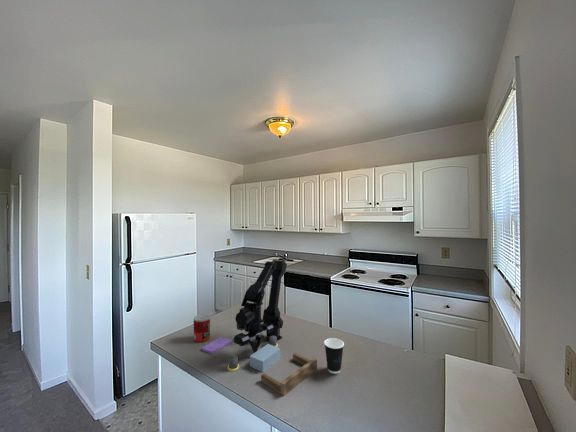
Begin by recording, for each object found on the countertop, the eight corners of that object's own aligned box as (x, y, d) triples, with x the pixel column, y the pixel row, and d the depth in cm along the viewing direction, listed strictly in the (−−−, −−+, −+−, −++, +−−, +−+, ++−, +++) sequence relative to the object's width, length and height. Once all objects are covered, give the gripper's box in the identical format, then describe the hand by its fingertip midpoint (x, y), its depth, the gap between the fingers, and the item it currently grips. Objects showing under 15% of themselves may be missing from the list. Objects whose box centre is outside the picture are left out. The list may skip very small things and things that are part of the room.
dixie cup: (339, 378, 96) (339, 349, 96) (320, 371, 101) (320, 344, 101) (347, 368, 103) (347, 341, 103) (329, 362, 107) (329, 336, 107)
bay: (295, 358, 110) (295, 349, 110) (317, 369, 102) (317, 359, 102) (261, 381, 95) (261, 370, 95) (283, 395, 87) (283, 384, 87)
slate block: (268, 353, 115) (268, 343, 115) (280, 358, 111) (280, 348, 111) (249, 366, 105) (249, 356, 105) (262, 372, 101) (262, 361, 101)
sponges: (201, 351, 117) (201, 347, 117) (221, 339, 128) (221, 336, 128) (212, 355, 114) (212, 351, 114) (231, 343, 125) (231, 339, 125)
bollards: (272, 342, 124) (272, 334, 124) (279, 345, 121) (279, 337, 121) (225, 368, 103) (225, 358, 103) (232, 372, 100) (232, 362, 100)
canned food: (205, 343, 124) (205, 321, 124) (190, 341, 125) (190, 319, 125) (212, 336, 131) (212, 314, 131) (198, 334, 133) (198, 313, 133)
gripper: (258, 307, 125) (258, 339, 125) (226, 319, 111) (226, 354, 111) (274, 313, 117) (274, 346, 117) (242, 326, 103) (242, 364, 103)
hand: (254, 352), depth 112 cm, fingers closed
